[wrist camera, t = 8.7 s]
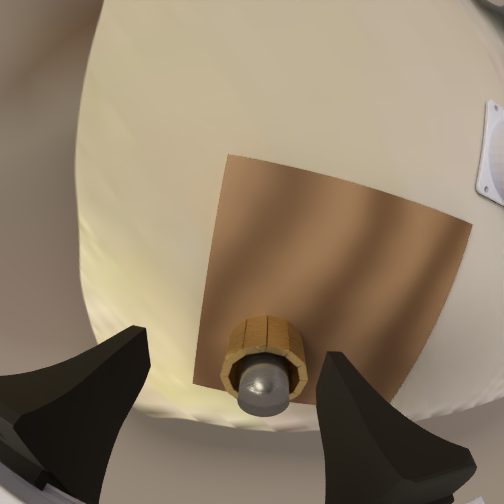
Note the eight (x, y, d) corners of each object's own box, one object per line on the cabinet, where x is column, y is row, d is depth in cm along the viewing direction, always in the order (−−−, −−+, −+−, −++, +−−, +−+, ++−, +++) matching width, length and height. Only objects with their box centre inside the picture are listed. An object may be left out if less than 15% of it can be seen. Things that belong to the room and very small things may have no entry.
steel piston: (291, 334, 20) (295, 388, 14) (280, 365, 21) (281, 419, 15) (249, 326, 20) (242, 379, 14) (242, 358, 21) (233, 412, 15)
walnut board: (465, 221, 17) (472, 224, 16) (383, 401, 23) (386, 408, 22) (230, 154, 17) (227, 154, 16) (195, 376, 23) (192, 383, 22)
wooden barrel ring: (314, 327, 19) (320, 357, 16) (287, 380, 21) (288, 412, 18) (240, 306, 19) (233, 335, 16) (221, 363, 21) (213, 394, 18)
